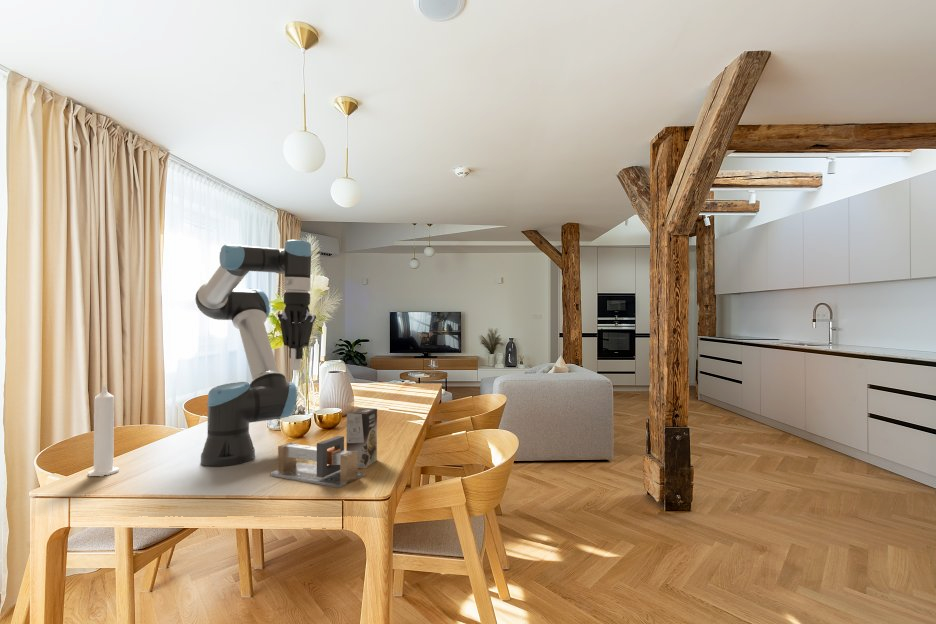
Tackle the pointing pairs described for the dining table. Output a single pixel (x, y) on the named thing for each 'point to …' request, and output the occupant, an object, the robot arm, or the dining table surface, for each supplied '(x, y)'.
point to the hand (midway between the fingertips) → (295, 369)
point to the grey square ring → (322, 455)
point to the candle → (103, 434)
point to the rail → (309, 471)
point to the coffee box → (363, 435)
